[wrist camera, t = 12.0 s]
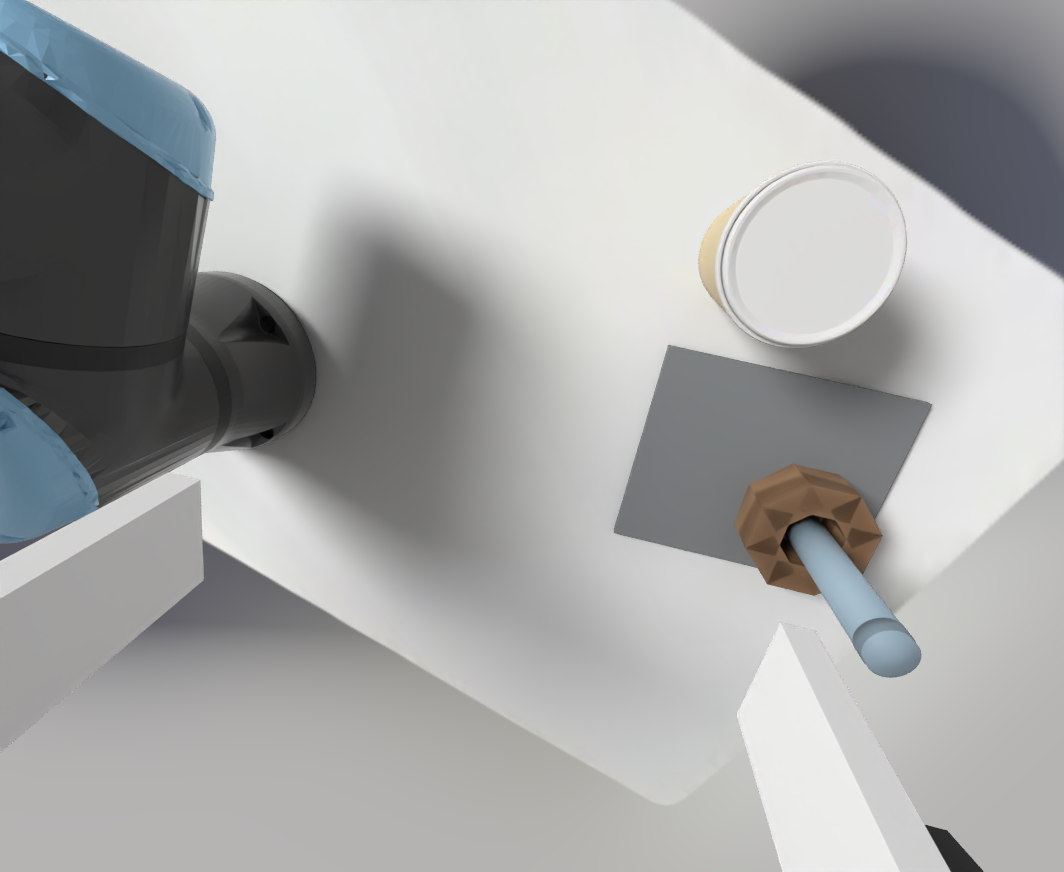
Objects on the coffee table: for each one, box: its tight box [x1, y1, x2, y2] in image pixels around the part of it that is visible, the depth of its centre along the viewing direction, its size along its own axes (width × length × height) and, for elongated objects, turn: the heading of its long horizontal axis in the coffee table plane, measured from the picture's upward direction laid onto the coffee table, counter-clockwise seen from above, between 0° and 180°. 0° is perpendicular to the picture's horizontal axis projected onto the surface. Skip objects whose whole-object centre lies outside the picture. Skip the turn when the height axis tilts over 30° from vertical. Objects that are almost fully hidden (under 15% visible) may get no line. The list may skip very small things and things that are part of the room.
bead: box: [734, 464, 883, 596], centre depth 42 cm, size 9×9×4 cm
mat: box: [614, 345, 932, 567], centre depth 43 cm, size 20×17×1 cm
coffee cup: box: [698, 161, 907, 348], centre depth 32 cm, size 9×9×12 cm
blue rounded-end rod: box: [785, 515, 921, 677], centre depth 36 cm, size 3×3×16 cm
